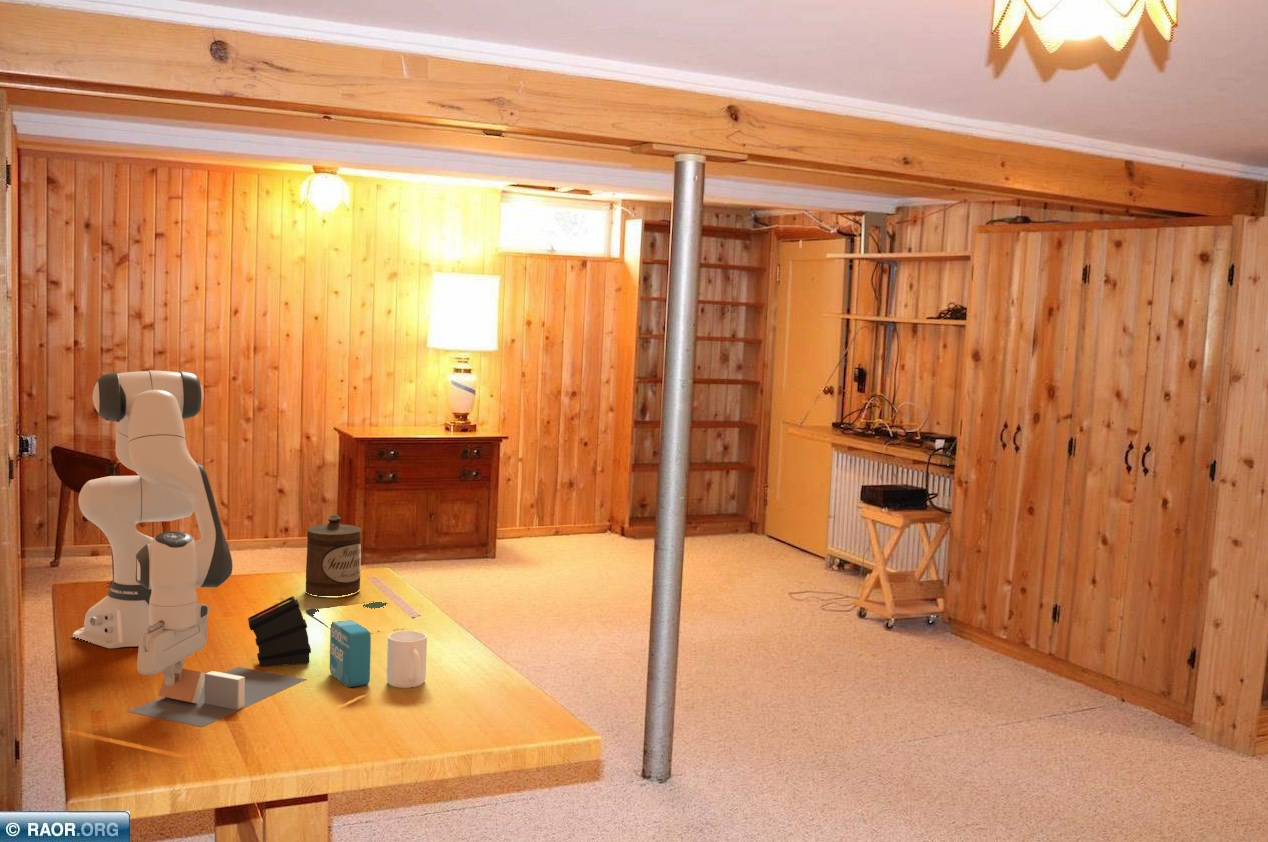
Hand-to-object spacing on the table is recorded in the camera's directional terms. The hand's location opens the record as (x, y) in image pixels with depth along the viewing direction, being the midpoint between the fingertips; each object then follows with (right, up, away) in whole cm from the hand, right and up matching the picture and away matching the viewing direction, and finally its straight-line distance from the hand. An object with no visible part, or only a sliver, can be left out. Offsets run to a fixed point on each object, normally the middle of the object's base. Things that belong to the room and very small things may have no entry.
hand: (172, 683), depth 227 cm
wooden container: (+7, +4, +96) cm, 96 cm away
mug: (+43, -5, +20) cm, 48 cm away
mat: (+7, -4, +7) cm, 11 cm away
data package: (+30, -4, +21) cm, 37 cm away
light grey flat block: (+10, -5, +1) cm, 11 cm away
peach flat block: (0, -4, +1) cm, 4 cm away
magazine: (+12, -3, +30) cm, 32 cm away
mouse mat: (+21, 0, +70) cm, 73 cm away
